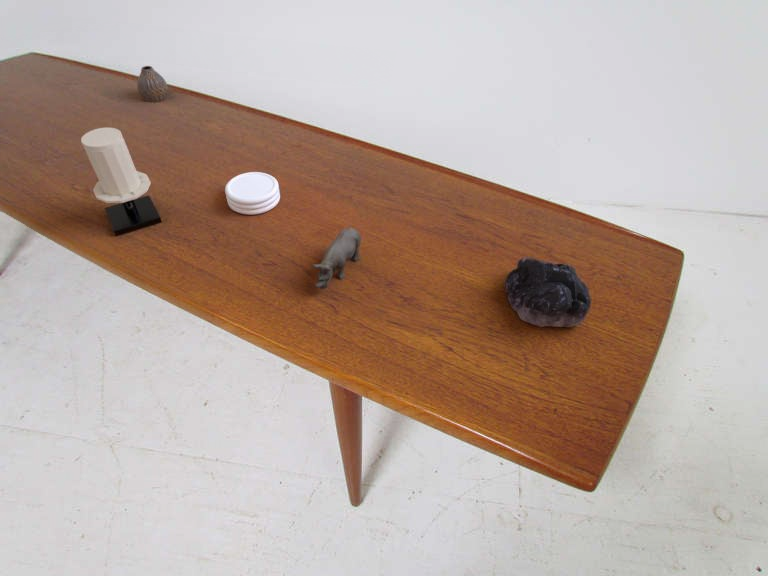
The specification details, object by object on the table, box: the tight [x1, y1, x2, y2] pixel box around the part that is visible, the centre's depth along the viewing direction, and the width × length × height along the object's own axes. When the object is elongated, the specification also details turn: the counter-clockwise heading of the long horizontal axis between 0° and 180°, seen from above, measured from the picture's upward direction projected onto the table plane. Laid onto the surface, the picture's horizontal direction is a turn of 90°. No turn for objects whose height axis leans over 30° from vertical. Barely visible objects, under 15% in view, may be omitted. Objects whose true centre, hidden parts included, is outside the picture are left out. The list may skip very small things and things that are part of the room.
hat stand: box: [104, 195, 163, 237], centre depth 86 cm, size 8×8×16 cm
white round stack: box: [224, 171, 281, 216], centre depth 95 cm, size 10×10×4 cm
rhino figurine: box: [312, 227, 362, 290], centre depth 81 cm, size 4×14×6 cm, turn 155°
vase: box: [136, 65, 170, 103], centre depth 121 cm, size 7×7×9 cm
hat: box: [80, 127, 152, 204], centre depth 84 cm, size 9×9×10 cm
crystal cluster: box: [503, 257, 592, 328], centre depth 76 cm, size 13×14×10 cm
